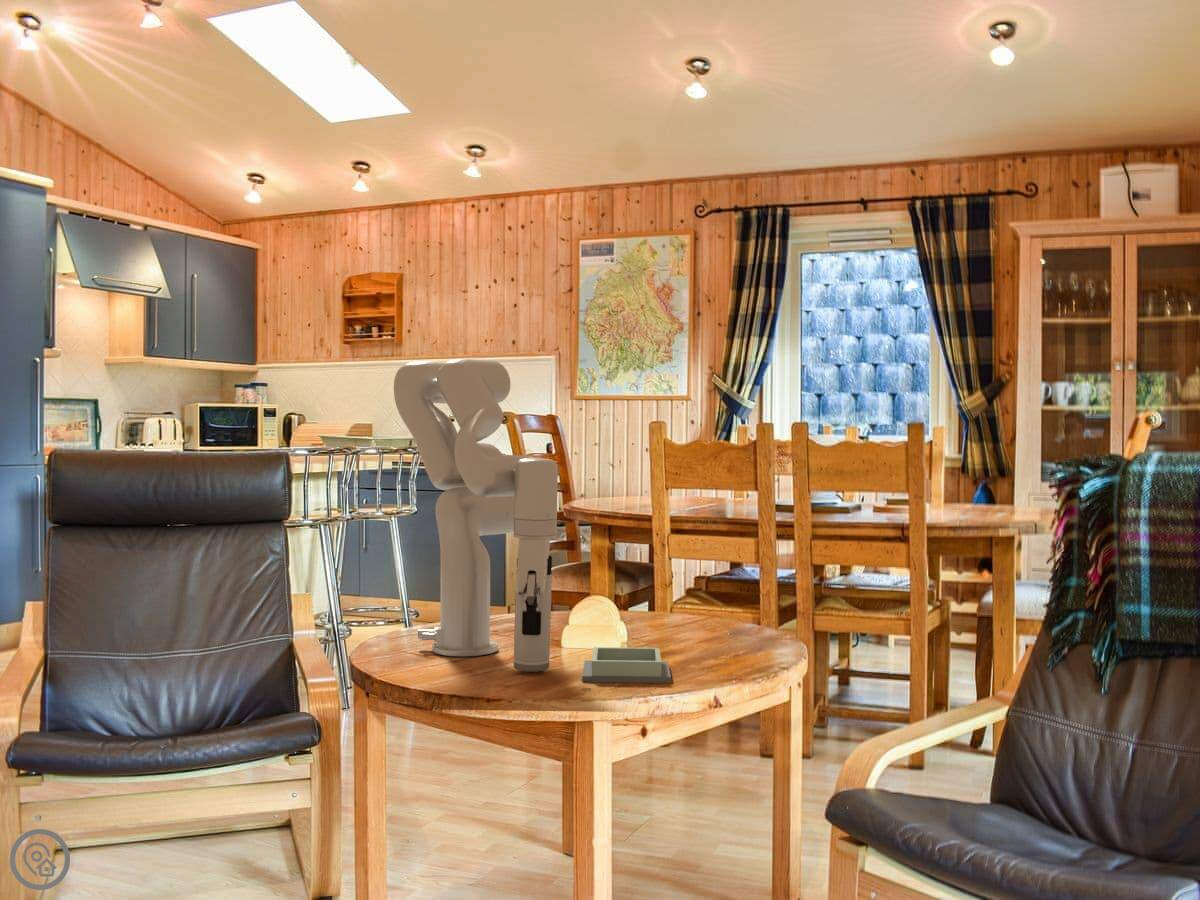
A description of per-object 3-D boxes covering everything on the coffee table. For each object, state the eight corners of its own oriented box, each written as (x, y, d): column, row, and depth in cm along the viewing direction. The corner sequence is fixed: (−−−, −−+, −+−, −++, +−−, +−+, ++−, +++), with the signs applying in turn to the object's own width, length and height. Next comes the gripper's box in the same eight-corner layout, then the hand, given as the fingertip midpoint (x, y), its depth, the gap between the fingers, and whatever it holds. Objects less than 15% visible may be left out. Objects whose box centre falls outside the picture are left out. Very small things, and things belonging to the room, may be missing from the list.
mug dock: (582, 681, 181) (582, 661, 181) (584, 666, 193) (584, 646, 193) (670, 683, 181) (671, 662, 181) (667, 667, 193) (667, 647, 193)
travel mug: (556, 666, 190) (560, 554, 189) (537, 673, 184) (540, 557, 183) (526, 661, 193) (529, 550, 192) (506, 668, 187) (509, 554, 186)
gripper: (518, 523, 196) (516, 620, 197) (508, 533, 179) (506, 640, 179) (559, 524, 196) (557, 621, 196) (553, 534, 179) (551, 641, 179)
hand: (533, 629), depth 188 cm, fingers closed on travel mug, 6 cm apart
